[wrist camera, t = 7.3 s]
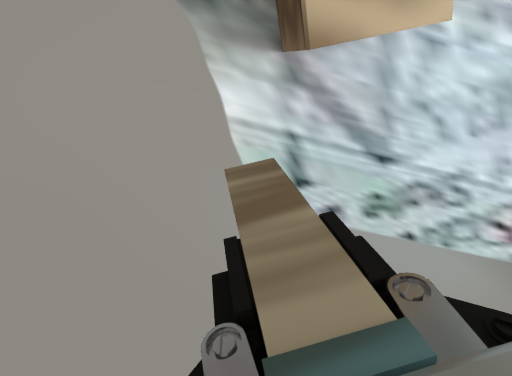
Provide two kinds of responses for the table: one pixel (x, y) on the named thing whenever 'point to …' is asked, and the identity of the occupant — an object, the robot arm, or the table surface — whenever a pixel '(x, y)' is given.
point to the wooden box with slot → (291, 25)
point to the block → (313, 288)
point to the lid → (367, 18)
